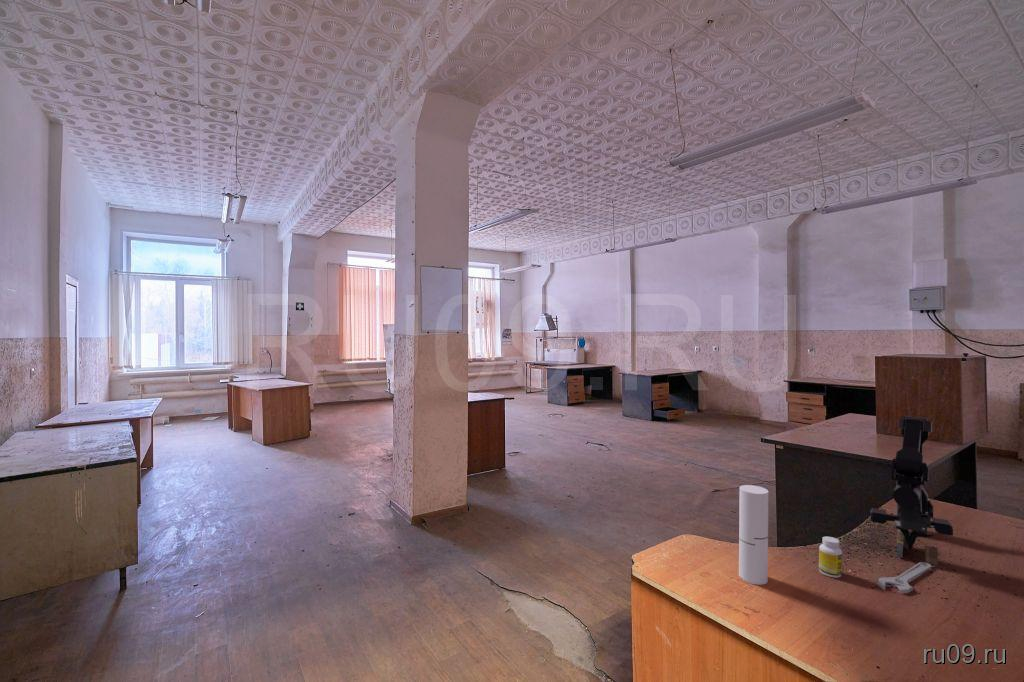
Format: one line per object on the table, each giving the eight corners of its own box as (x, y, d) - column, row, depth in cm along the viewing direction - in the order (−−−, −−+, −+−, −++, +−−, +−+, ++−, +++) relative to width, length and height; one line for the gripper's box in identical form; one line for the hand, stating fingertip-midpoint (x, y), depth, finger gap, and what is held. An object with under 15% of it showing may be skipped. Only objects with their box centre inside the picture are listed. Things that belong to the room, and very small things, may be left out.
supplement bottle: (841, 580, 127) (842, 545, 127) (818, 574, 130) (818, 540, 130) (842, 572, 131) (842, 538, 131) (819, 566, 135) (819, 533, 135)
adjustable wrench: (921, 566, 136) (921, 560, 136) (949, 576, 130) (949, 570, 130) (874, 586, 125) (874, 579, 125) (902, 598, 119) (902, 591, 119)
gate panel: (897, 543, 148) (897, 528, 148) (903, 545, 147) (904, 530, 146) (896, 556, 139) (896, 540, 139) (903, 558, 138) (903, 542, 138)
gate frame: (900, 545, 148) (901, 528, 148) (910, 546, 147) (910, 529, 147) (927, 566, 134) (928, 548, 134) (938, 567, 134) (938, 549, 134)
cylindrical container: (771, 586, 125) (772, 494, 124) (743, 583, 126) (743, 492, 125) (762, 572, 131) (763, 485, 131) (735, 569, 133) (736, 484, 132)
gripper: (870, 500, 139) (871, 551, 139) (955, 512, 127) (956, 568, 128) (869, 489, 148) (871, 538, 148) (949, 500, 136) (950, 553, 136)
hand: (910, 549), depth 140 cm, fingers closed
